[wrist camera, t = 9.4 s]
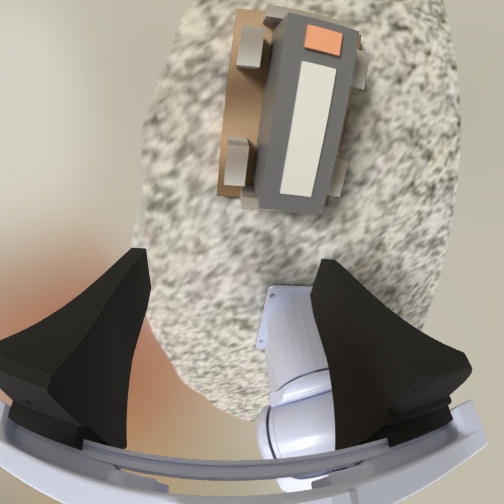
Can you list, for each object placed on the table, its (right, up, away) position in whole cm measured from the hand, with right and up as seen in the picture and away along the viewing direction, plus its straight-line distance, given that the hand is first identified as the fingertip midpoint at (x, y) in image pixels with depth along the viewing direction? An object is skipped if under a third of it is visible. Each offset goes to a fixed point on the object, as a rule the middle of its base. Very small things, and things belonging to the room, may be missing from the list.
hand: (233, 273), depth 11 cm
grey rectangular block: (+3, +10, +4) cm, 11 cm away
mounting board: (+3, +10, +5) cm, 12 cm away
